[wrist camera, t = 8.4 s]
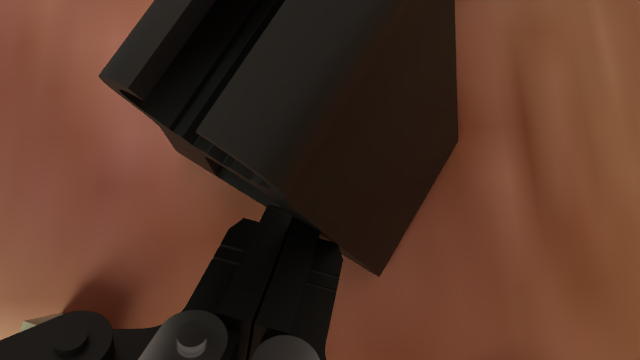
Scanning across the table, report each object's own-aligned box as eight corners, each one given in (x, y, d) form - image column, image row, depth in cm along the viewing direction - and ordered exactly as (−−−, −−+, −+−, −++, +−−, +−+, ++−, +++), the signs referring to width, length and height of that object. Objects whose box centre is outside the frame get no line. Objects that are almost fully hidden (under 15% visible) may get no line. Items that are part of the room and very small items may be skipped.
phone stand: (178, 152, 17) (-148, -80, 5) (263, 32, 18) (147, -405, 6) (377, 277, 16) (524, 339, 4) (455, 144, 17) (757, -108, 5)
